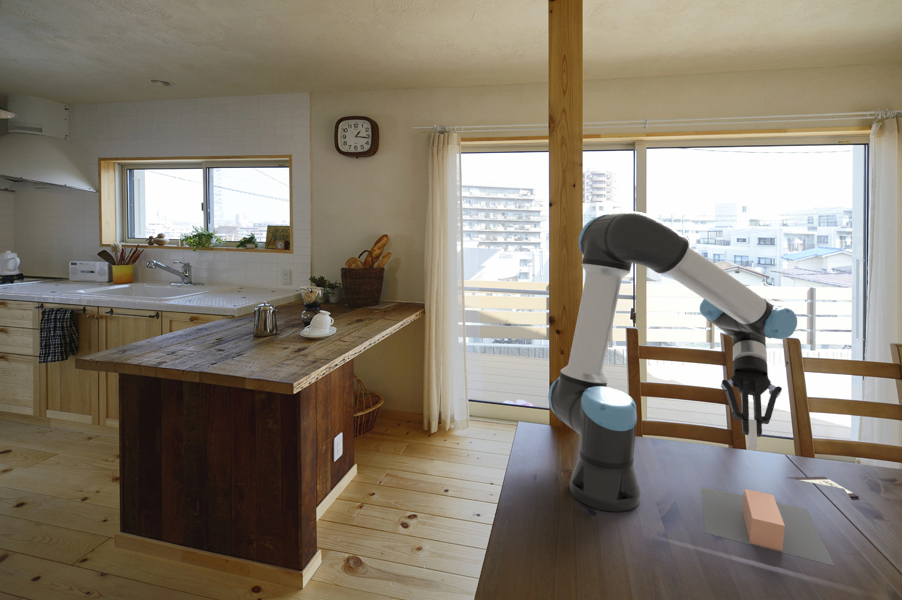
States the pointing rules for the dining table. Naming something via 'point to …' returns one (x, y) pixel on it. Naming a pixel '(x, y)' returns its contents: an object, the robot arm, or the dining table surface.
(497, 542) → the dining table surface
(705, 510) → the mat
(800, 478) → the chocolate bar
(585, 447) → the robot arm
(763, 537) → the block
